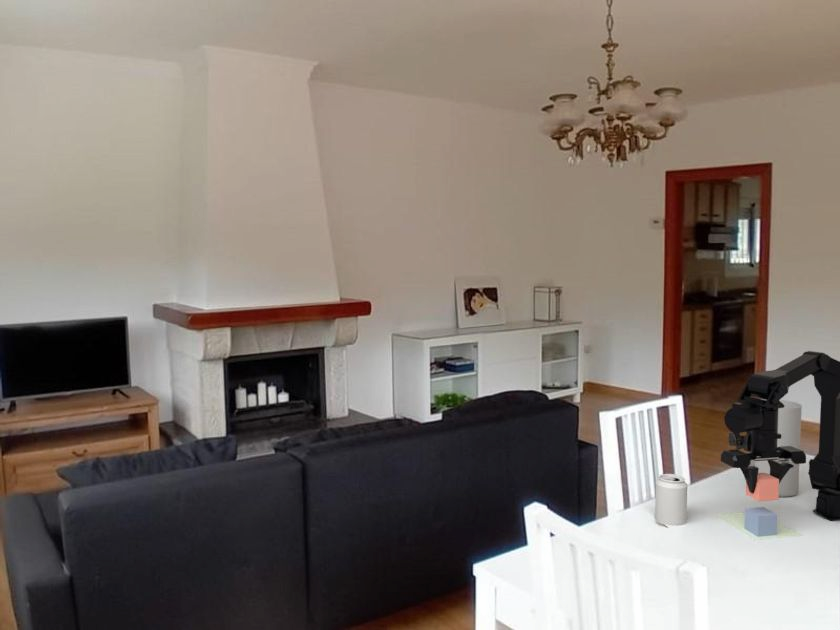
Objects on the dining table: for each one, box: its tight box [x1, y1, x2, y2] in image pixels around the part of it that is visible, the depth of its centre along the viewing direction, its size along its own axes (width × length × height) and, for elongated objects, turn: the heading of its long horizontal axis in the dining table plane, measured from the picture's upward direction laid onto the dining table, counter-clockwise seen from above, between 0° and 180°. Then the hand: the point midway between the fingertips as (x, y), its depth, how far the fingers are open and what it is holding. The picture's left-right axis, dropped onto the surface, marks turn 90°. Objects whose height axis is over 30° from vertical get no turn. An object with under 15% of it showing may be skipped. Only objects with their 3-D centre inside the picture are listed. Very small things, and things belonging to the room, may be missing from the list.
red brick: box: [745, 473, 779, 502], centre depth 166 cm, size 5×5×5 cm
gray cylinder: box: [755, 399, 803, 498], centre depth 197 cm, size 12×12×25 cm
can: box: [654, 473, 688, 528], centre depth 174 cm, size 8×8×12 cm
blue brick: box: [744, 506, 779, 537], centre depth 166 cm, size 5×5×5 cm
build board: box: [714, 511, 805, 541], centre depth 171 cm, size 13×16×1 cm
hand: (762, 492), depth 166 cm, fingers closed on red brick, 5 cm apart
